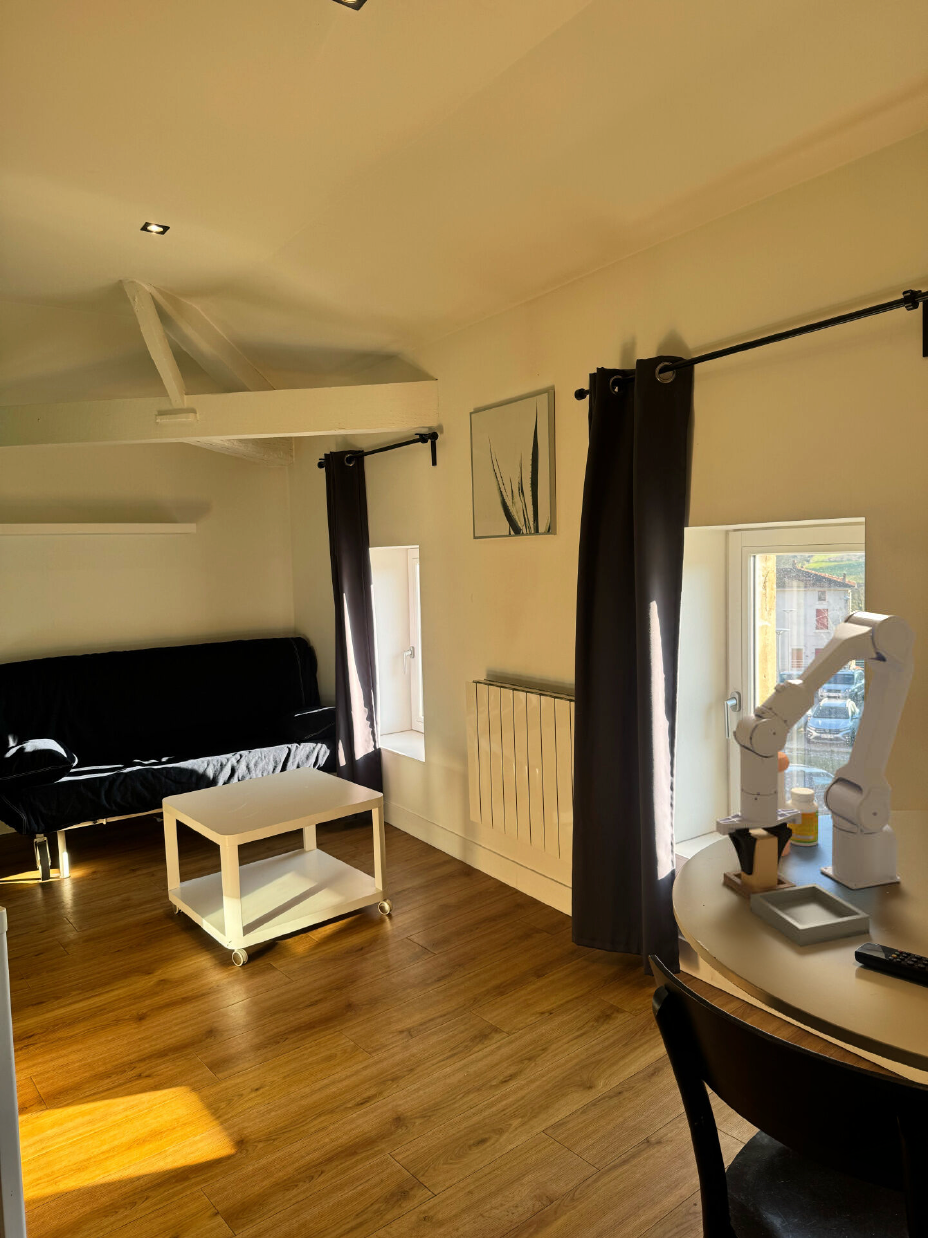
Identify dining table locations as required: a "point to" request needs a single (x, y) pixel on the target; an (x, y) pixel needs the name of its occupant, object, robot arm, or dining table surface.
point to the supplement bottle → (804, 817)
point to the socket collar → (735, 882)
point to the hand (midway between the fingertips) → (759, 870)
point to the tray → (809, 914)
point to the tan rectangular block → (763, 861)
